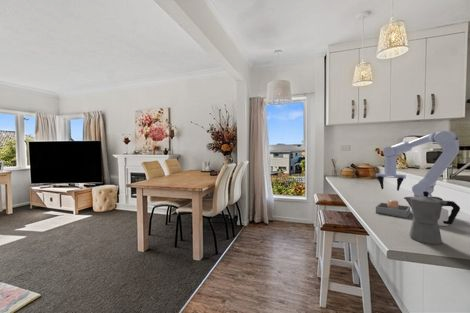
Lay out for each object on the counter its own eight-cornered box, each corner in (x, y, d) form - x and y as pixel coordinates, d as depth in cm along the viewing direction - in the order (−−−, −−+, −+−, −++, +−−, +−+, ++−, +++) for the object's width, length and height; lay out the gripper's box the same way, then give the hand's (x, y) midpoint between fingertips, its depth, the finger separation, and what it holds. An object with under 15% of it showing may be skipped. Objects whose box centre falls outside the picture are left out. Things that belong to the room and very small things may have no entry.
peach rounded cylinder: (398, 212, 113) (398, 200, 113) (397, 213, 110) (397, 202, 110) (388, 210, 116) (388, 199, 116) (386, 212, 113) (386, 200, 113)
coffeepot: (399, 236, 82) (399, 190, 81) (407, 231, 87) (408, 187, 87) (456, 252, 69) (457, 197, 69) (462, 244, 74) (463, 193, 74)
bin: (410, 213, 113) (410, 206, 112) (406, 218, 104) (406, 211, 104) (380, 208, 122) (380, 202, 122) (375, 212, 113) (375, 206, 113)
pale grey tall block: (448, 226, 93) (448, 199, 93) (429, 225, 94) (429, 198, 94) (436, 221, 100) (436, 195, 100) (419, 220, 101) (419, 195, 101)
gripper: (374, 166, 129) (374, 189, 129) (404, 168, 119) (404, 192, 119) (377, 166, 134) (376, 187, 134) (406, 167, 124) (406, 190, 124)
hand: (390, 189), depth 127 cm, fingers open, 7 cm apart
